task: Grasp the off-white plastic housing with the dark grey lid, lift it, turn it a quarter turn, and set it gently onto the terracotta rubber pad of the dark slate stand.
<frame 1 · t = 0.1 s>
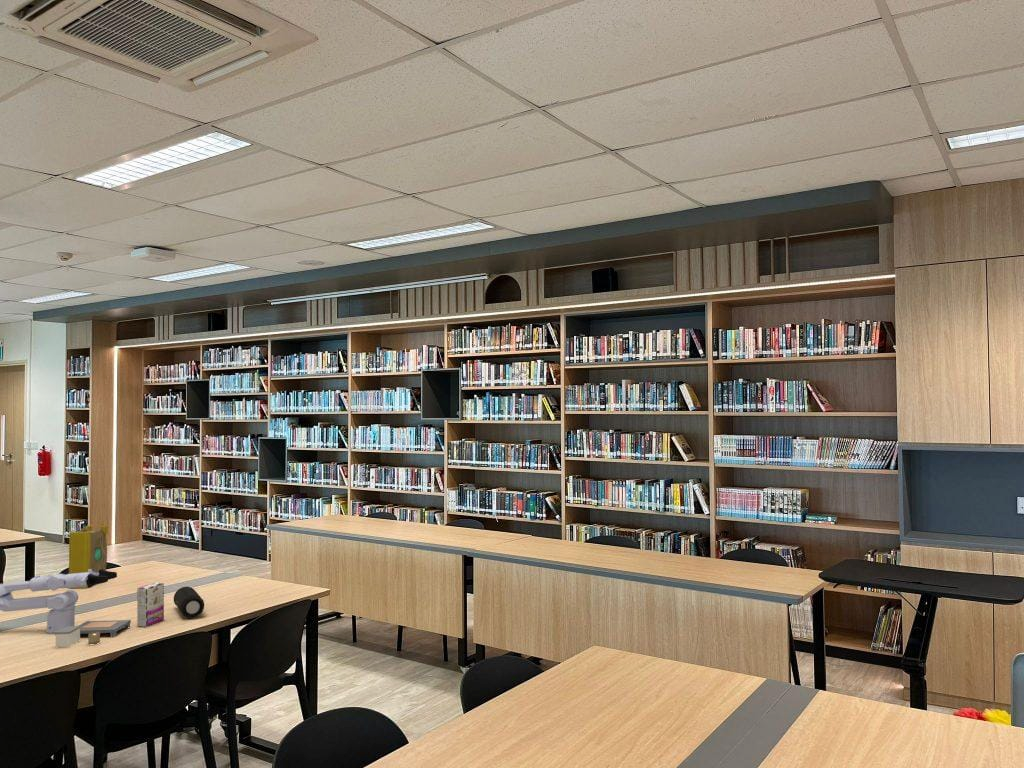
hand: (112, 576, 307), 22 cm above the table, tool horizontal, fingers open, 7 cm apart
stand: (100, 632, 301), on the table
housing: (67, 644, 286), on the table
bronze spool: (94, 643, 286), on the table
portable speaker: (188, 613, 331), on the table
decorative book: (88, 584, 391), on the table
candy bar box: (150, 623, 314), on the table
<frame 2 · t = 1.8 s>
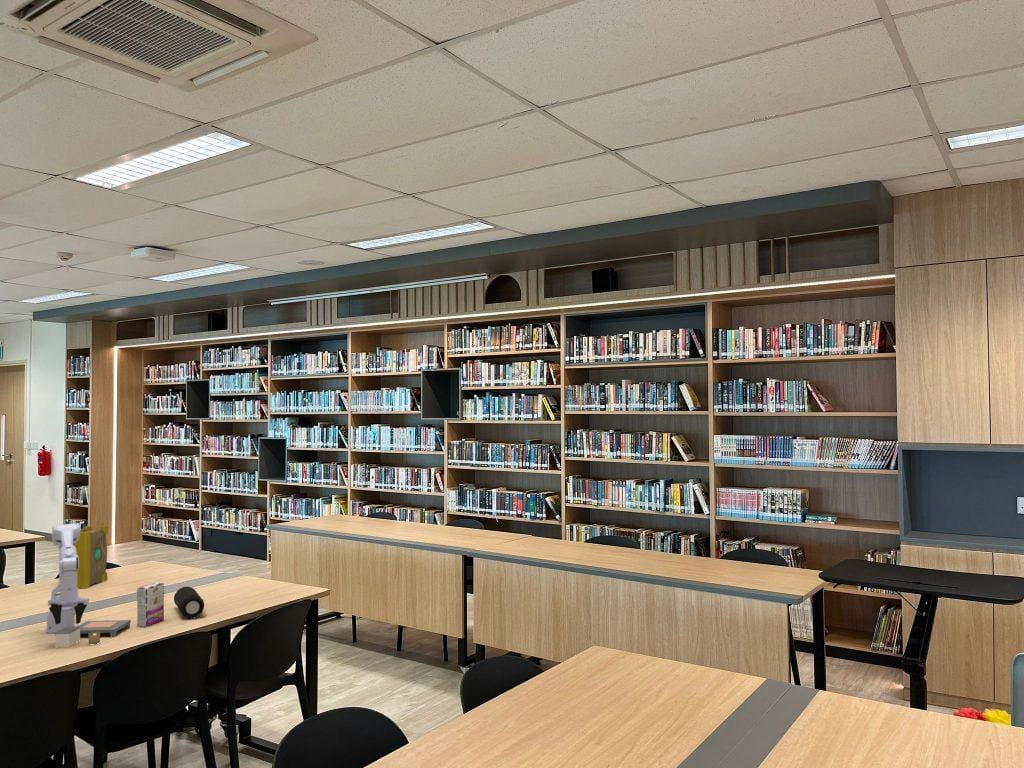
hand: (68, 623, 286), 8 cm above the table, tool pointing down, fingers open, 7 cm apart
nothing on the table moved.
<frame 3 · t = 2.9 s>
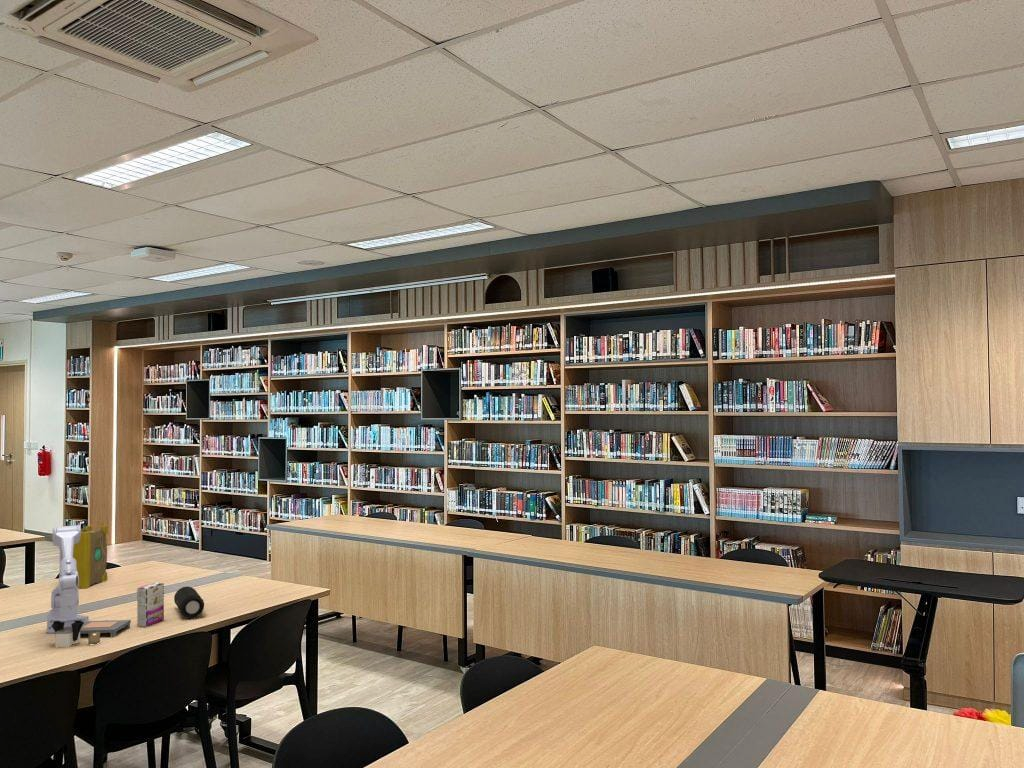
hand: (67, 640, 286), 1 cm above the table, tool pointing down, fingers closed on housing, 5 cm apart
housing: (67, 644, 286), on the table, touching gripper
everything else where it was.
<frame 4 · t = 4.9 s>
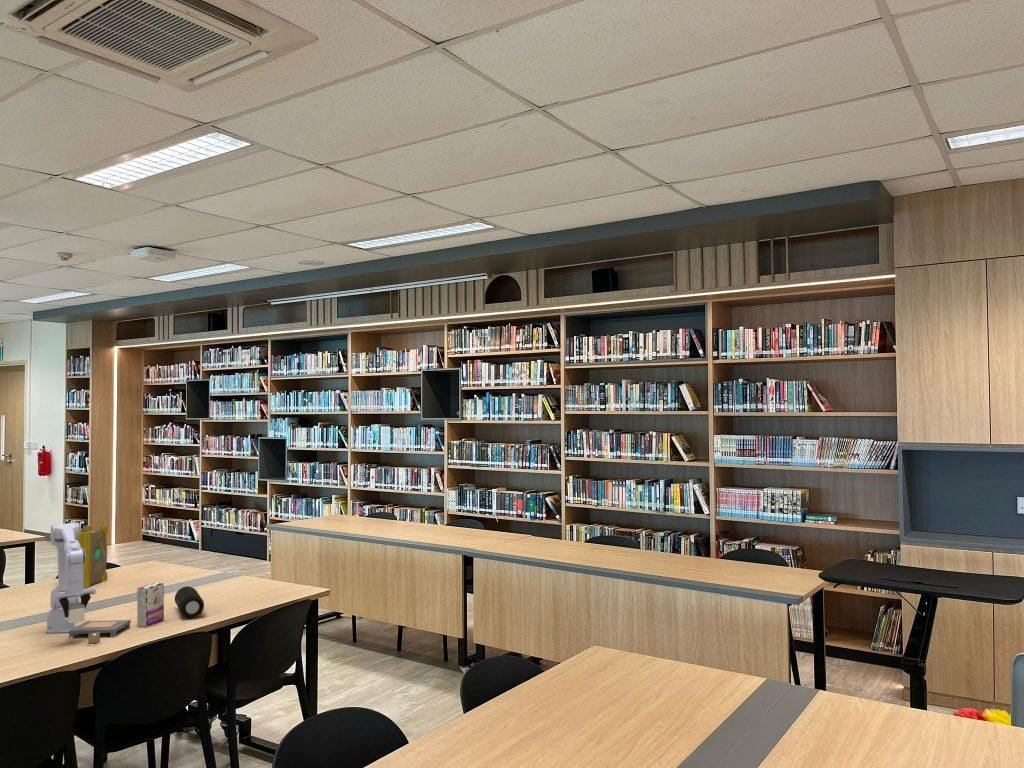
hand: (74, 615, 289), 10 cm above the table, tool pointing down, fingers closed on housing, 5 cm apart
housing: (74, 620, 289), point 9 cm above the table, touching gripper
everything else where it was.
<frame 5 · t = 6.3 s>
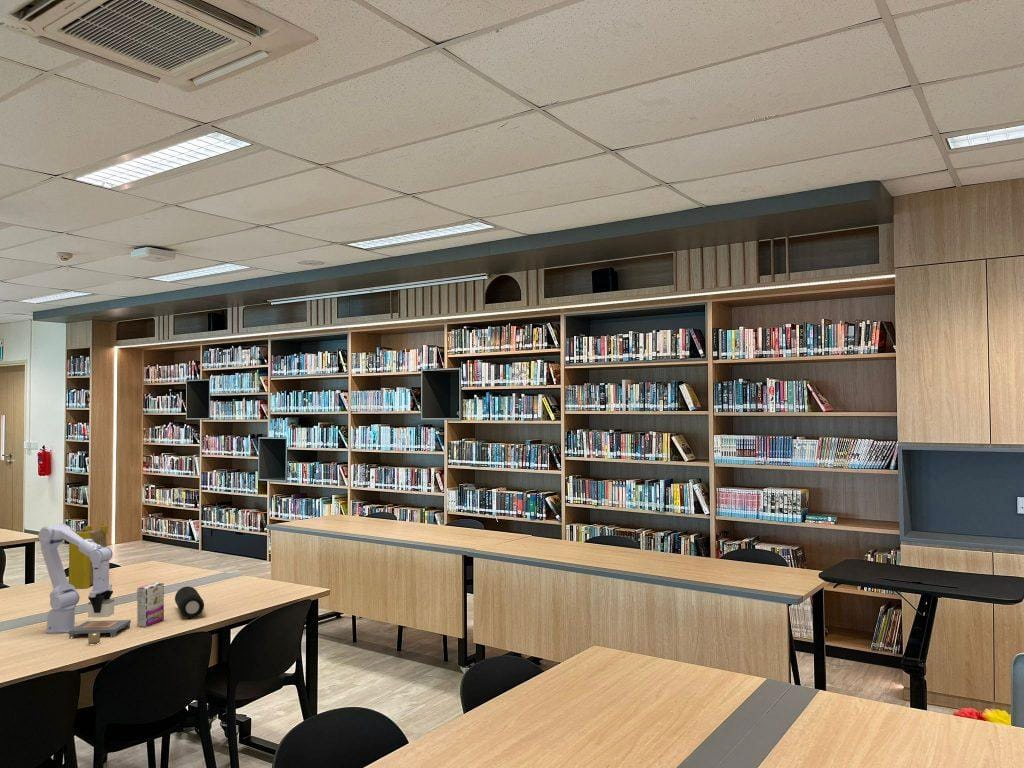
hand: (100, 610, 302), 9 cm above the table, tool pointing down, fingers closed on housing, 5 cm apart
housing: (101, 615, 301), point 7 cm above the table, touching gripper
everything else where it was.
when the fingers open (6 cm above the table, at t = 7.2 s): housing drops 1 cm, resting on stand.
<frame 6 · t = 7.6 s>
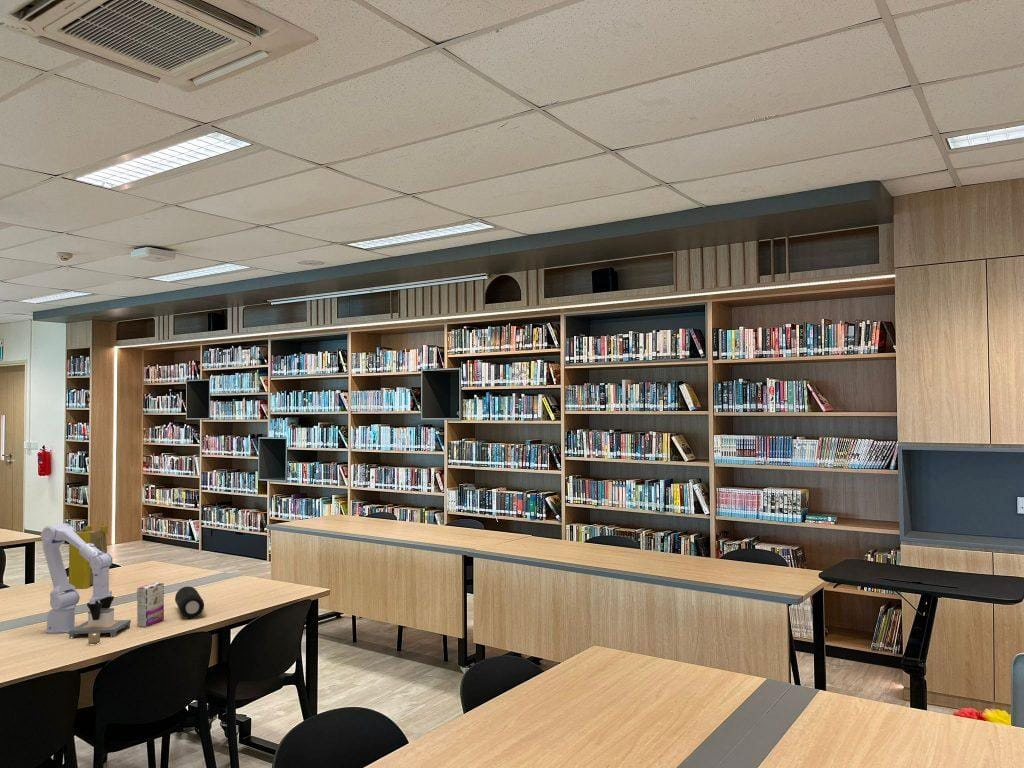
hand: (100, 617, 301), 6 cm above the table, tool pointing down, fingers open, 7 cm apart
housing: (100, 624, 301), point 3 cm above the table, touching stand
everything else where it was.
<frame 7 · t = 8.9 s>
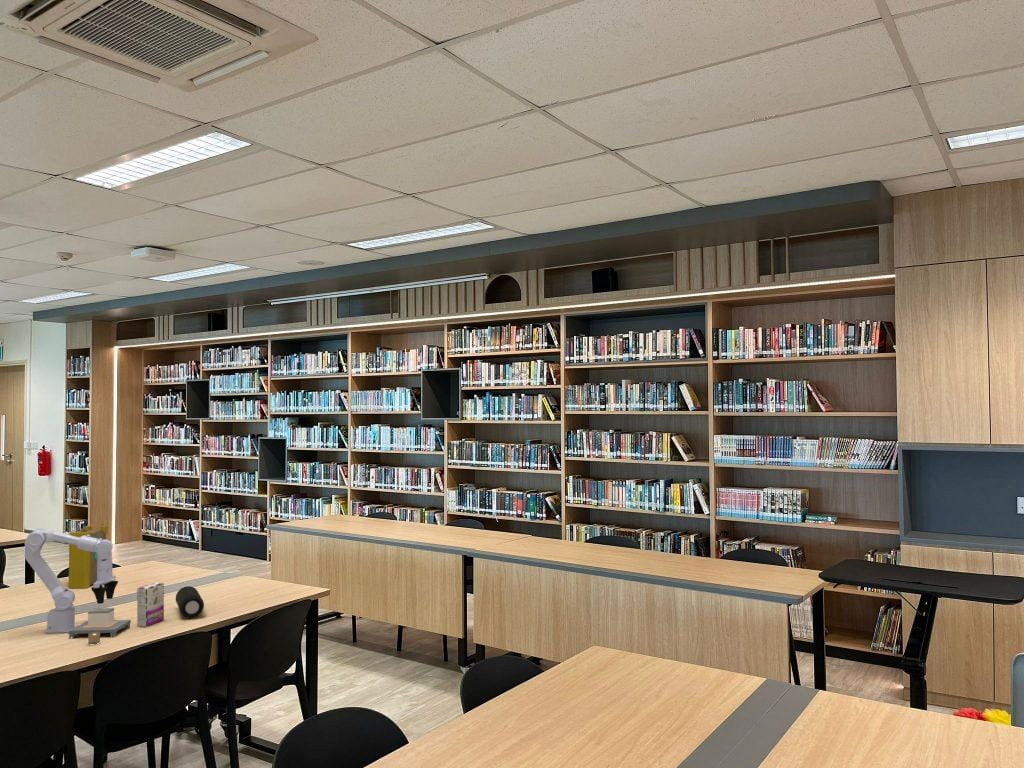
hand: (105, 601, 312), 10 cm above the table, tool pointing down, fingers open, 7 cm apart
nothing on the table moved.
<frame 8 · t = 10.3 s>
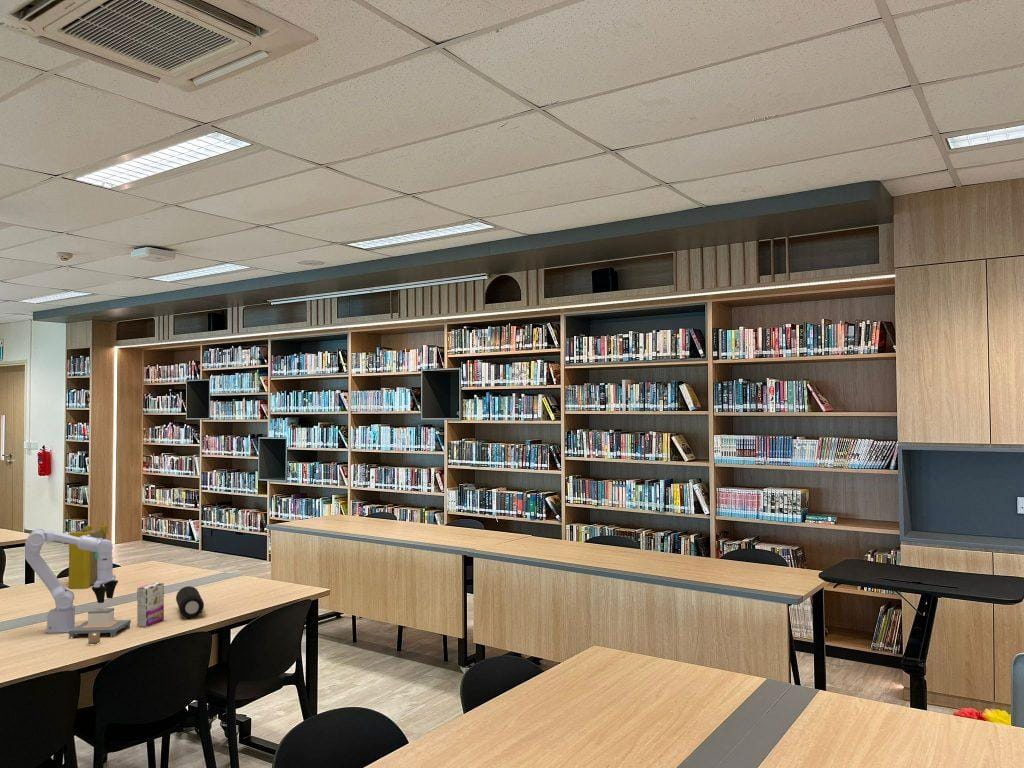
hand: (105, 600, 313), 10 cm above the table, tool pointing down, fingers open, 7 cm apart
nothing on the table moved.
at the end: housing inside the target area on the stand (0.2 cm from its centre), point 3.3 cm above the stand's base; housing tilted 0°; the gripper is holding nothing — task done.
